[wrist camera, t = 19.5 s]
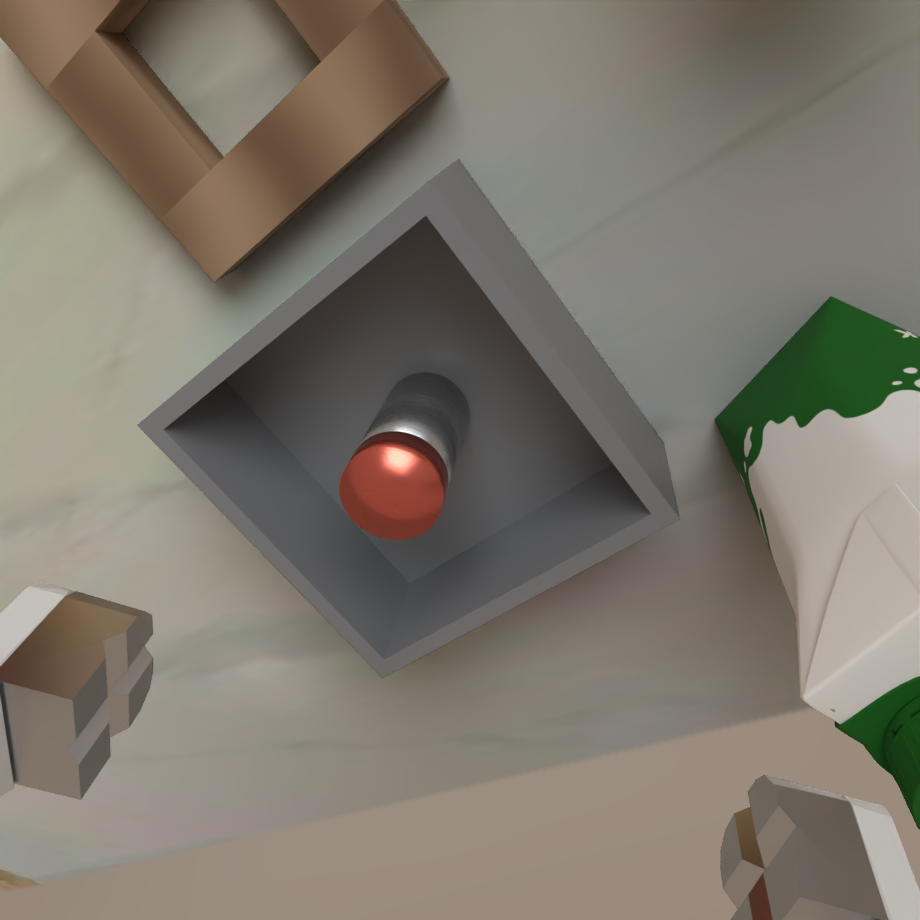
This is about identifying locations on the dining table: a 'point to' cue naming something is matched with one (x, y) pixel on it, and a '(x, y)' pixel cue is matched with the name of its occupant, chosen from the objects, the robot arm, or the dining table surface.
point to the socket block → (263, 149)
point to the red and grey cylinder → (406, 458)
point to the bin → (484, 445)
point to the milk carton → (844, 519)
